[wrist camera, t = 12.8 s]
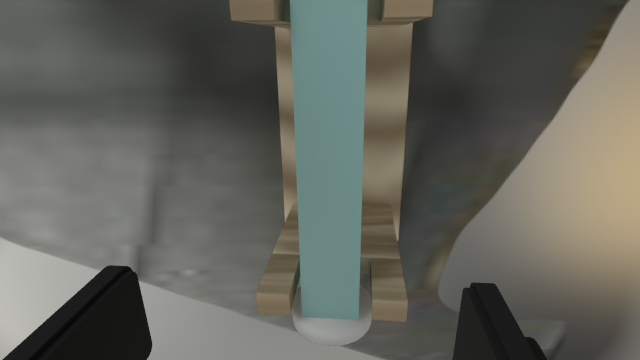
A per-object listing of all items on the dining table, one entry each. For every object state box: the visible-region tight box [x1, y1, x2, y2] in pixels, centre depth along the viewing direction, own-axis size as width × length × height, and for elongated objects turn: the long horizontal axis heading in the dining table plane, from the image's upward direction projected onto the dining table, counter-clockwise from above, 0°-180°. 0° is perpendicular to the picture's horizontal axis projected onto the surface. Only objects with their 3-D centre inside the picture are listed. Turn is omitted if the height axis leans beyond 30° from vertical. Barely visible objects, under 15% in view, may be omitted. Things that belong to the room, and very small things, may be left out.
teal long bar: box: [290, 0, 372, 346], centre depth 24 cm, size 25×6×6 cm, turn 1°
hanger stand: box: [229, 0, 433, 322], centre depth 29 cm, size 25×12×16 cm, turn 1°
